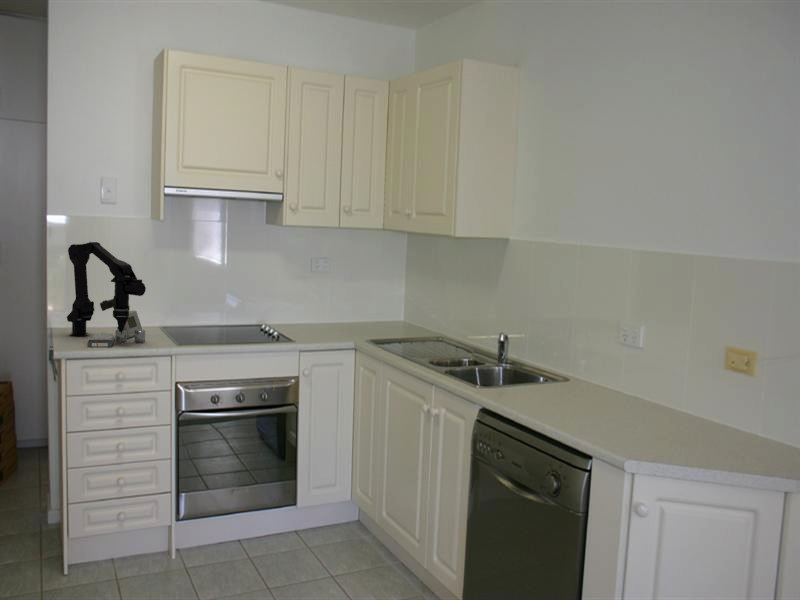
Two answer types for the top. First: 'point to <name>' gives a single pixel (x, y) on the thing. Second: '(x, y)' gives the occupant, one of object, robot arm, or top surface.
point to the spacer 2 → (139, 336)
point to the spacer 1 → (121, 336)
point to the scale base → (100, 343)
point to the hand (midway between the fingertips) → (120, 330)
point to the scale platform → (100, 336)
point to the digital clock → (132, 324)
